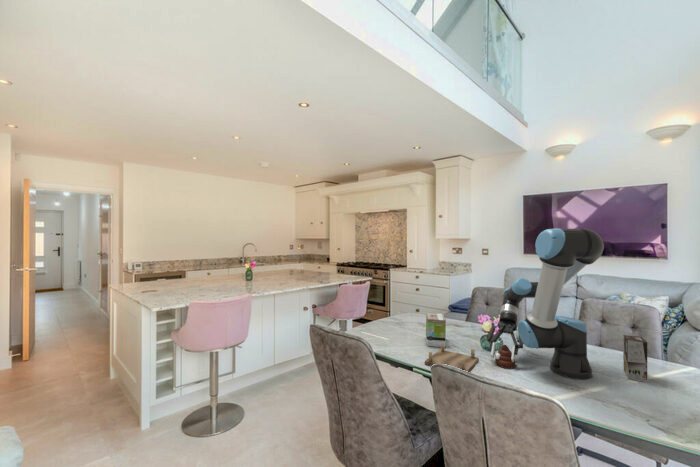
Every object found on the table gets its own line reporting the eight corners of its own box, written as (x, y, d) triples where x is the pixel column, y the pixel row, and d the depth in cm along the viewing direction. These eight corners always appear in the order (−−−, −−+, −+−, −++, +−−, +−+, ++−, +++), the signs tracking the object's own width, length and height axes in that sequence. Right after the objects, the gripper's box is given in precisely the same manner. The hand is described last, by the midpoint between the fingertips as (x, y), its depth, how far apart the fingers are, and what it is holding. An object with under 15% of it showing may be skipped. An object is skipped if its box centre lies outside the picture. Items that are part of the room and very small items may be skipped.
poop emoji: (516, 370, 140) (516, 348, 140) (495, 367, 143) (495, 346, 143) (513, 361, 150) (513, 341, 150) (493, 359, 153) (493, 339, 153)
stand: (478, 360, 151) (478, 349, 151) (466, 374, 136) (466, 361, 136) (439, 352, 162) (439, 341, 162) (424, 364, 147) (424, 352, 147)
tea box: (446, 347, 169) (446, 319, 169) (426, 346, 171) (426, 318, 171) (443, 338, 184) (443, 313, 184) (425, 337, 186) (425, 312, 186)
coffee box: (648, 382, 128) (647, 342, 128) (627, 379, 131) (626, 339, 131) (642, 374, 135) (642, 336, 136) (623, 371, 139) (622, 334, 139)
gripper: (533, 323, 153) (529, 368, 140) (487, 316, 165) (479, 357, 152) (531, 314, 149) (527, 359, 136) (485, 308, 161) (476, 349, 148)
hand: (502, 358), depth 144 cm, fingers closed on poop emoji, 8 cm apart
